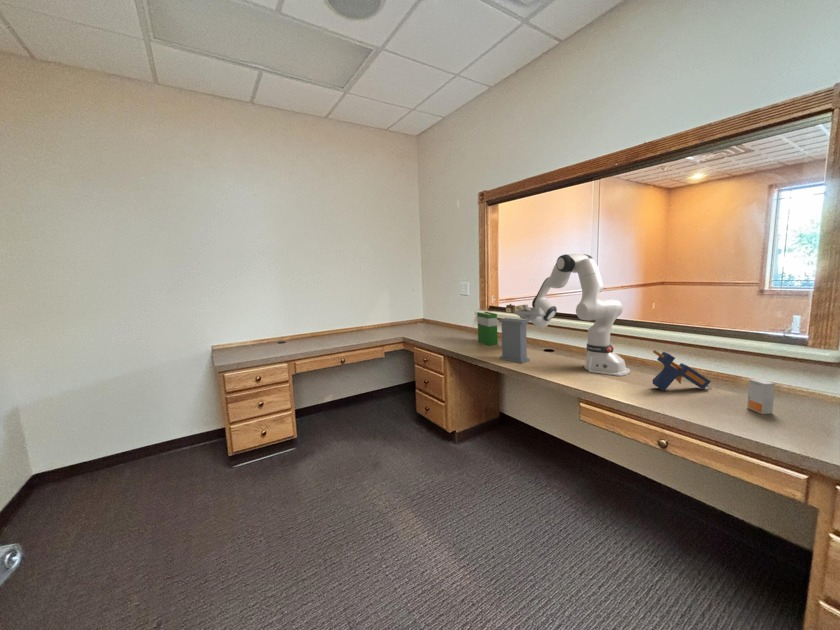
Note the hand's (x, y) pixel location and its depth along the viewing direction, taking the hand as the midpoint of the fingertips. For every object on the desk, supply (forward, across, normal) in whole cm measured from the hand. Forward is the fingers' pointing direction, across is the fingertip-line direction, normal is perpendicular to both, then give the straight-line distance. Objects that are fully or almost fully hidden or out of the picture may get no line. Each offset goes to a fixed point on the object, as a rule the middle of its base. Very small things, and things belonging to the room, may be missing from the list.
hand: (522, 306), depth 222 cm
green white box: (-32, +44, -20) cm, 58 cm away
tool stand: (-9, 0, -34) cm, 35 cm away
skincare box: (-7, -113, -35) cm, 118 cm away
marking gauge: (+4, 0, -4) cm, 6 cm away
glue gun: (-14, -86, -31) cm, 93 cm away
